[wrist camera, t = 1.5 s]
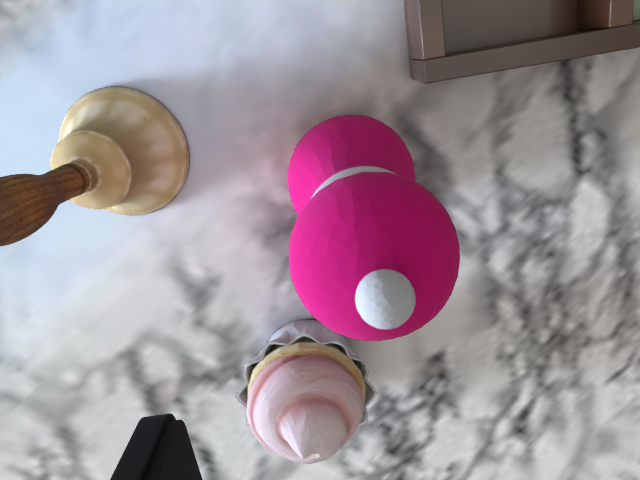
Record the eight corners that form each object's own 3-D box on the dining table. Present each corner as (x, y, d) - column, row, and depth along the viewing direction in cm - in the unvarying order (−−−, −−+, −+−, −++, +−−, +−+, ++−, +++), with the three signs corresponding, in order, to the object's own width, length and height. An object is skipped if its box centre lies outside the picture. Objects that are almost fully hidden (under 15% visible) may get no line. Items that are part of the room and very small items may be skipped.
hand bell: (50, 190, 33) (-170, 304, 18) (73, 66, 30) (-164, 79, 15) (172, 230, 34) (60, 369, 19) (204, 114, 31) (103, 170, 16)
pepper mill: (298, 221, 34) (277, 429, 15) (284, 113, 31) (239, 202, 13) (404, 210, 34) (515, 407, 15) (398, 101, 31) (524, 173, 12)
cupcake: (225, 376, 38) (195, 480, 29) (280, 279, 35) (267, 360, 26) (331, 422, 40) (335, 535, 31) (392, 333, 37) (418, 428, 28)
